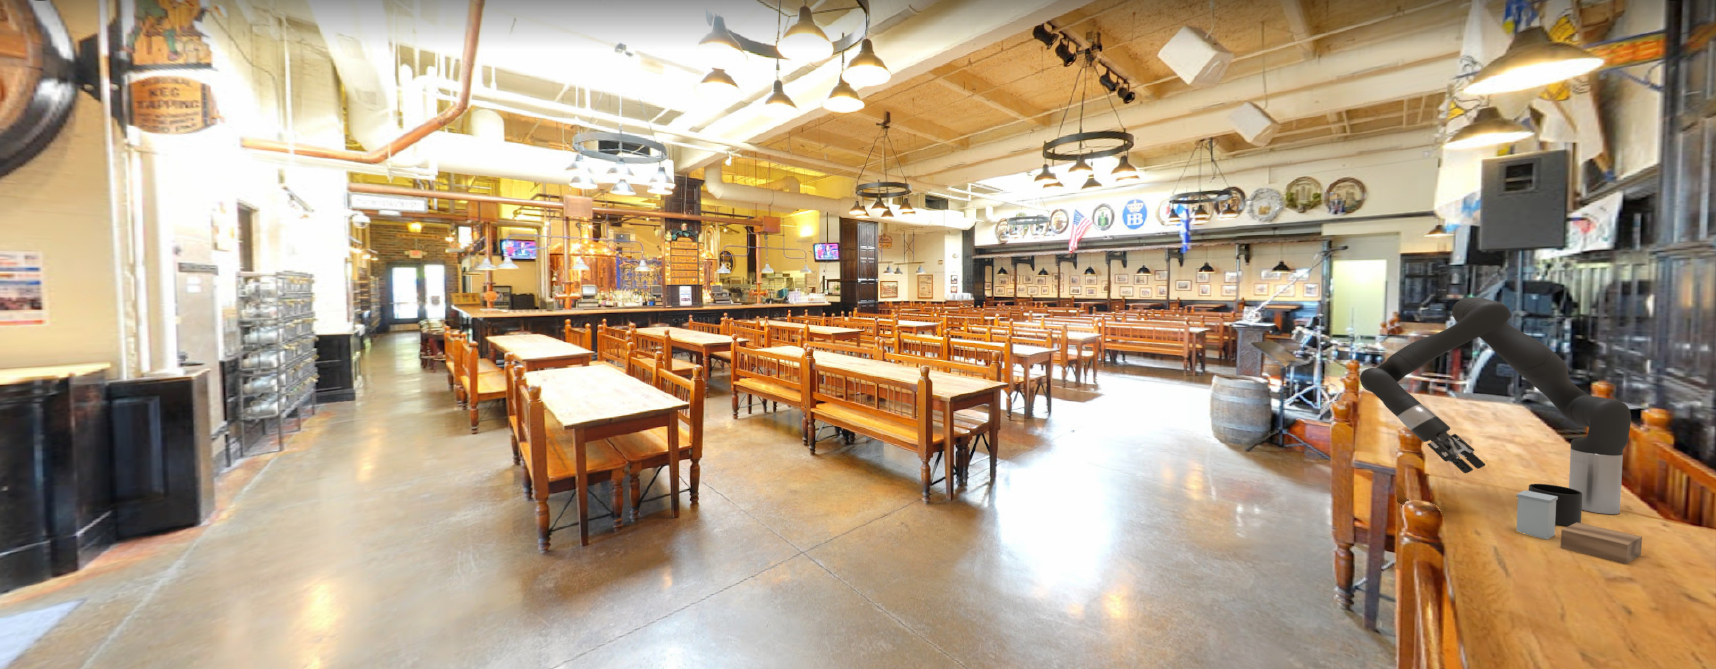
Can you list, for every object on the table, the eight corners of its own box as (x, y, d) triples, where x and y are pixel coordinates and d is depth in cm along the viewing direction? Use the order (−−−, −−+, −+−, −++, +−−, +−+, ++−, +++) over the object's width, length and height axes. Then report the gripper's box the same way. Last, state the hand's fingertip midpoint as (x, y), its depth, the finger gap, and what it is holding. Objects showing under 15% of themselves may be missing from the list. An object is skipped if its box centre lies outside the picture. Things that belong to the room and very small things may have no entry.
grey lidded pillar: (1523, 527, 153) (1524, 489, 152) (1556, 535, 148) (1557, 496, 147) (1515, 532, 150) (1516, 493, 150) (1548, 539, 145) (1549, 500, 145)
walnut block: (1576, 540, 145) (1577, 522, 145) (1640, 556, 136) (1642, 536, 136) (1560, 548, 141) (1561, 529, 141) (1626, 565, 132) (1627, 544, 132)
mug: (1578, 517, 158) (1580, 486, 158) (1582, 529, 150) (1583, 497, 150) (1527, 508, 165) (1528, 479, 165) (1527, 520, 158) (1529, 489, 157)
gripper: (1424, 418, 163) (1479, 466, 153) (1445, 412, 169) (1499, 458, 159) (1400, 432, 168) (1451, 480, 158) (1421, 426, 174) (1472, 472, 164)
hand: (1475, 469), depth 159 cm, fingers open, 8 cm apart
